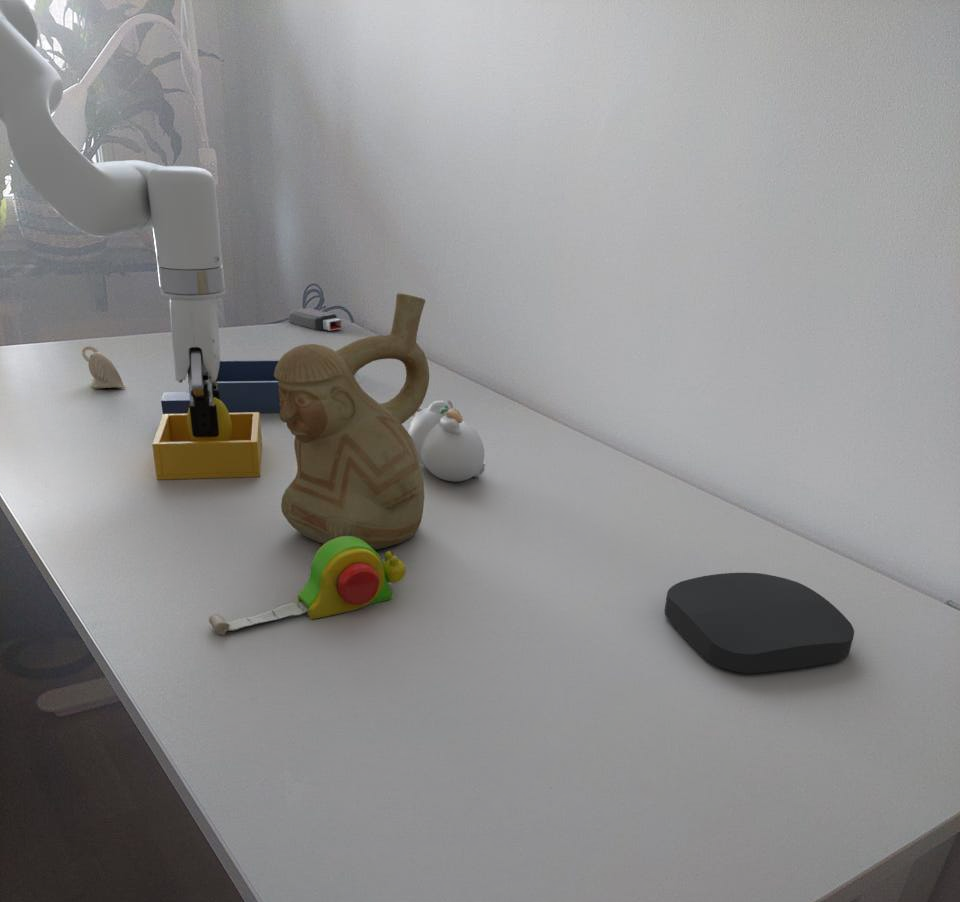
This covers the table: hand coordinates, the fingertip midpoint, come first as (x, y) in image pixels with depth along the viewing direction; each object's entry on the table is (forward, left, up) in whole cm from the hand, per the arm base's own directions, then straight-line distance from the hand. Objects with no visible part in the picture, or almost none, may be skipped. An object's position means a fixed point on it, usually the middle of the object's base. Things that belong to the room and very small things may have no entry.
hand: (207, 427), depth 125 cm
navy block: (-5, +15, -5) cm, 16 cm away
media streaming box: (+53, -52, -5) cm, 75 cm away
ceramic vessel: (+18, -25, -5) cm, 31 cm away
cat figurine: (+30, -6, -5) cm, 31 cm away
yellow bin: (0, 0, -5) cm, 5 cm away
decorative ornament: (-19, +38, -5) cm, 43 cm away
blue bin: (+4, +28, -5) cm, 29 cm away
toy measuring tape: (+12, -43, -5) cm, 45 cm away
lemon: (0, 0, -4) cm, 4 cm away
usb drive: (+16, +81, -5) cm, 83 cm away
